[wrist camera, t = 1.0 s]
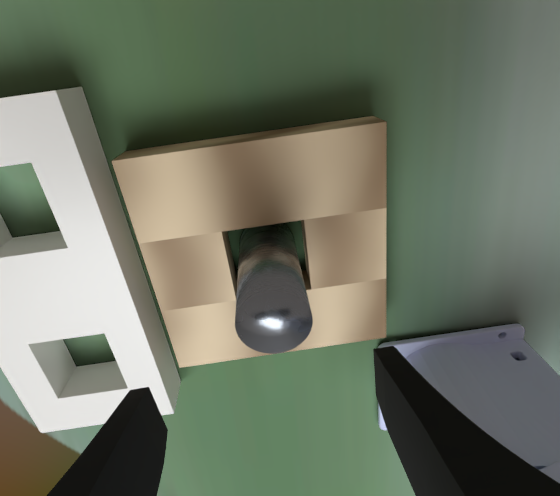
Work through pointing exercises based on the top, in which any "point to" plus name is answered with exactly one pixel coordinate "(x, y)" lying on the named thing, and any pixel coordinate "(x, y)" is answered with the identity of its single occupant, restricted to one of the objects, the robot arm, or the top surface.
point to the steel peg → (271, 291)
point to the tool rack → (74, 275)
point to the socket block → (259, 212)
